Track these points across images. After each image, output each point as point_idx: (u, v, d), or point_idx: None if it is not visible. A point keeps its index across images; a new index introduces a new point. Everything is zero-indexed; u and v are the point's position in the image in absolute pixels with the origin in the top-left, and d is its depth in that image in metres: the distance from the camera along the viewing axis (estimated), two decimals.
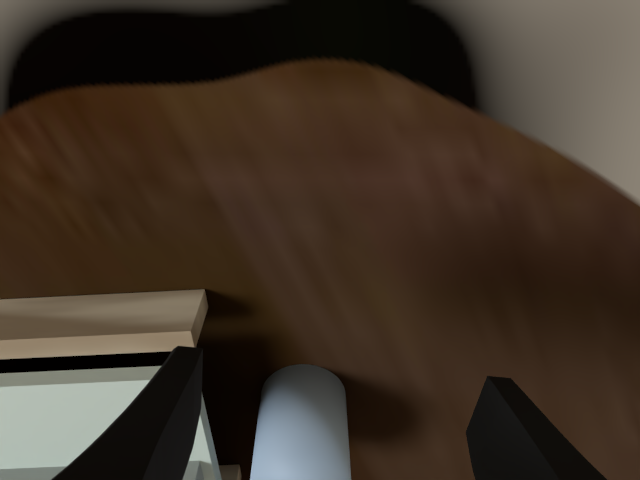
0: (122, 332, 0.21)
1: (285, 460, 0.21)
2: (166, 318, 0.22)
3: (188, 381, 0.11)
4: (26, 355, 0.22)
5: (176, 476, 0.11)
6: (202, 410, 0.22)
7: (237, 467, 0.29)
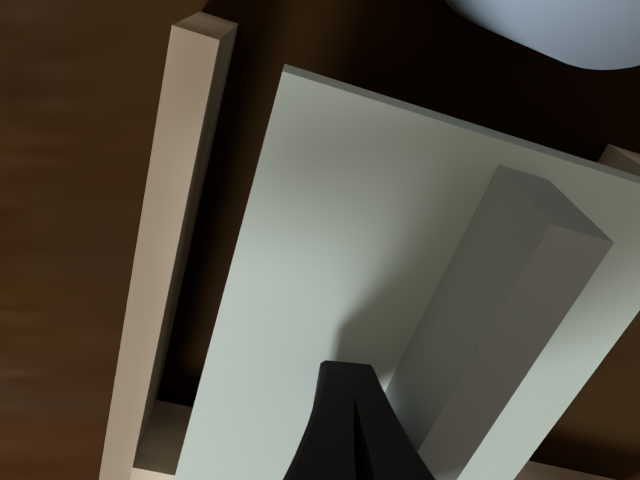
0: (154, 149, 0.12)
1: None
2: None
3: (353, 396, 0.11)
4: (161, 302, 0.14)
5: None
6: (386, 100, 0.11)
7: (609, 147, 0.15)
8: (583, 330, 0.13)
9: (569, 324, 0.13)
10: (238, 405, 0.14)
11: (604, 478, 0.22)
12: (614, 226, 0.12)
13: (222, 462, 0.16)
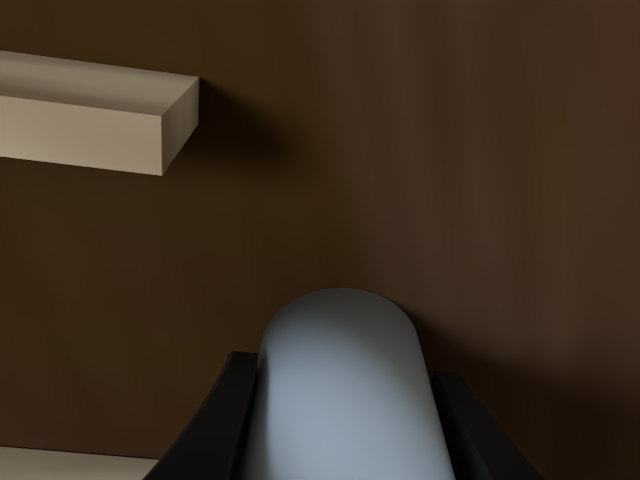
0: None
1: None
2: (103, 92, 0.09)
3: (251, 387, 0.11)
4: None
5: None
6: None
7: None
8: None
9: None
10: None
11: None
12: None
13: None
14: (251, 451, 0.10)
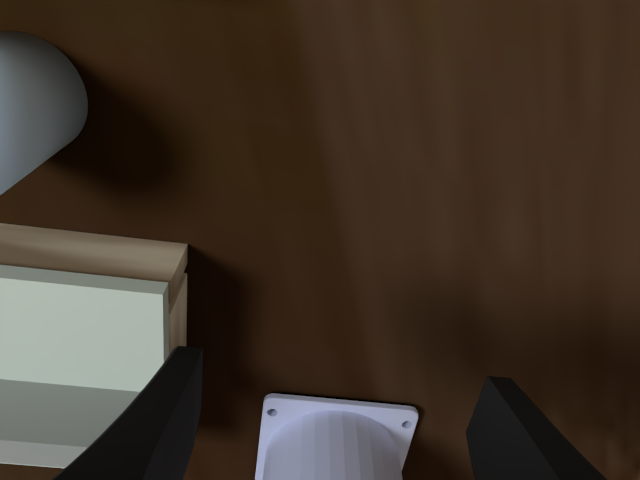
0: None
1: None
2: None
3: (188, 381, 0.11)
4: None
5: (176, 476, 0.11)
6: (166, 336, 0.20)
7: (185, 245, 0.22)
8: None
9: None
10: None
11: None
12: None
13: None
14: None
